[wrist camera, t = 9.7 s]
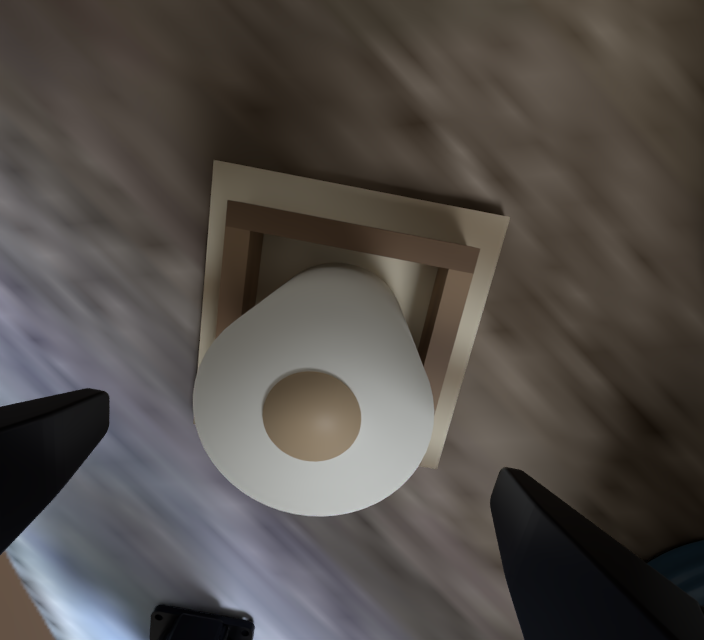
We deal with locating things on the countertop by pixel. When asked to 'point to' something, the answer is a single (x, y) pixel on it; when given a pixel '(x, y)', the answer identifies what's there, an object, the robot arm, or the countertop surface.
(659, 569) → the canister
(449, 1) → the countertop surface
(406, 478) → the towel roll
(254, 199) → the holder
